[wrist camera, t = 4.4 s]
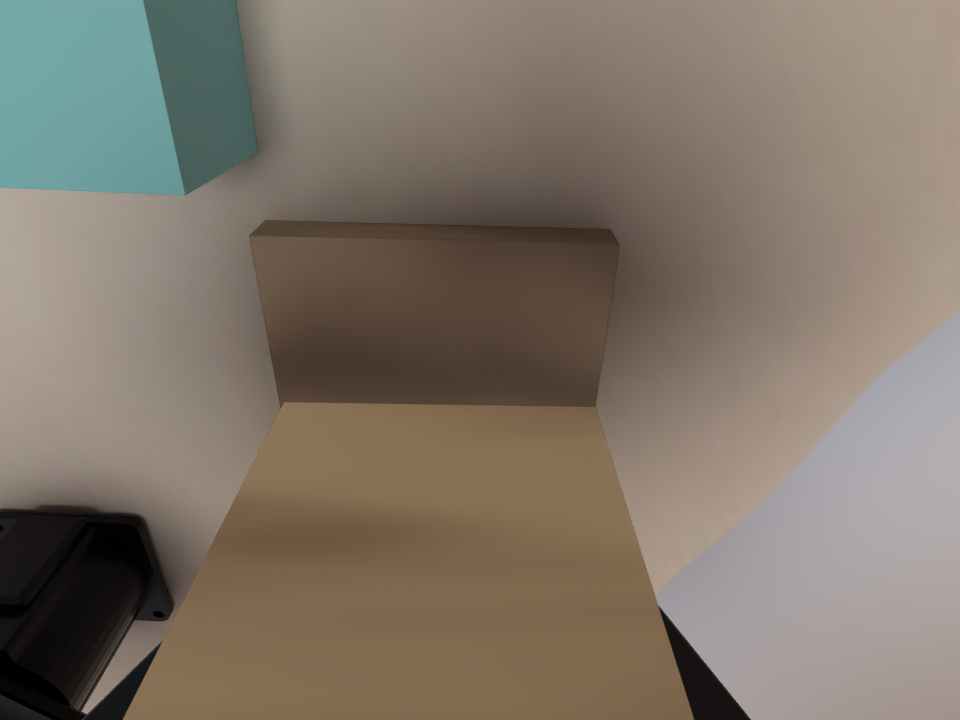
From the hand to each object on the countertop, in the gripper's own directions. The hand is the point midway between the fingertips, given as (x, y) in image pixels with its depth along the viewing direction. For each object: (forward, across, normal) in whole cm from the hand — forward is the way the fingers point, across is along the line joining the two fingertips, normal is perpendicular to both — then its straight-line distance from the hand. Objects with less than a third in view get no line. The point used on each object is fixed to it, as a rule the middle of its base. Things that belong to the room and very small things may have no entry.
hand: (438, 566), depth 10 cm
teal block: (+12, +8, -7) cm, 16 cm away
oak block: (+1, 0, 0) cm, 1 cm away
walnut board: (+12, +1, +3) cm, 13 cm away
